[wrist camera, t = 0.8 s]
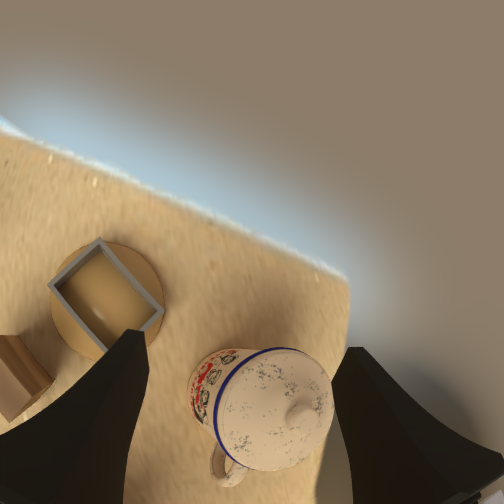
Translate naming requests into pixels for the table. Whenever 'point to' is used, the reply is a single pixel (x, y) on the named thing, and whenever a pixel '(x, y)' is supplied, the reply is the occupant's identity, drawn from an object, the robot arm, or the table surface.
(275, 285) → the table surface
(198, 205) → the table surface
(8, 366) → the brown wooden block
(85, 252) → the grey open box
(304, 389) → the teacup with lid
